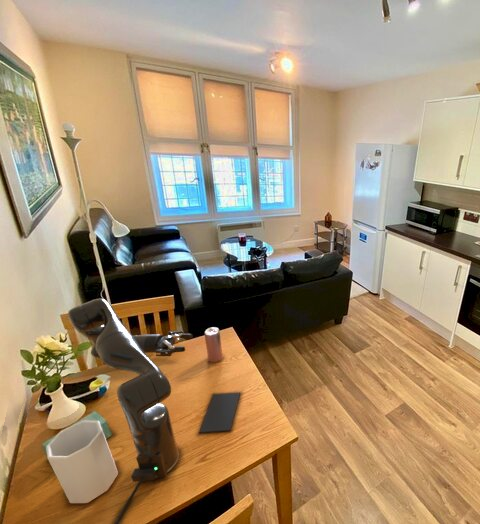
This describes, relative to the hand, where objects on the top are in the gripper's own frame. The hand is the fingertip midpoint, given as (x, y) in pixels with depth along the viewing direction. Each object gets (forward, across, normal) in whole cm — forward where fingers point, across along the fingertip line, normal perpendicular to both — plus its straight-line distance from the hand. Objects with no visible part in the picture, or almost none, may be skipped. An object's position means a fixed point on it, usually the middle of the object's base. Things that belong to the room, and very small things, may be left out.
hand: (188, 342), depth 125 cm
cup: (-9, -50, +9) cm, 52 cm away
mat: (+20, -29, +9) cm, 37 cm away
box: (-19, -39, +9) cm, 44 cm away
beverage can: (+10, 0, +9) cm, 14 cm away
